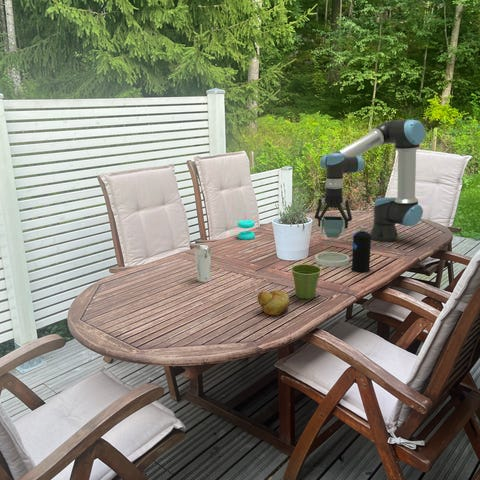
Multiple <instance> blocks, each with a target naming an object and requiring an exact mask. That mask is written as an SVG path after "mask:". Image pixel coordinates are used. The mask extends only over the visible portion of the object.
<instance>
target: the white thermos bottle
mask: <svg viewBox="0 0 480 480" xmlns="http://www.w3.org/2000/svg"><path fill="white" fill-rule="evenodd" d="M211 260H212V253H211V246H210V245H207V244H200V245H196V246H195V247H194V262H195V266H196V270H197V276H196V277H197V278H196V281H197V282H199V283H207V282H210V281H211V280H212V278H211V271H210V269H211Z"/></svg>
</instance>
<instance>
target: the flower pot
mask: <svg viewBox="0 0 480 480" xmlns="http://www.w3.org/2000/svg"><path fill="white" fill-rule="evenodd" d="M322 219H323V231H324V234H325V236H326V238H329V239H330V238H332V239H335V238H336V239H337V238H339V237H340V235H341V234H342V232H343V222H344V219H343V217H342V215H340V216H337V215H336V216H333V215H331V216H330V215H329V216H328V215H324V216H323V217H322Z"/></svg>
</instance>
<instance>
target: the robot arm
mask: <svg viewBox="0 0 480 480" xmlns="http://www.w3.org/2000/svg"><path fill="white" fill-rule="evenodd" d="M425 137H426V129H425V126H424V125H423V123H422V121H419V120H417V119H392V120H388V121H385V122H382V123H381V124H379V125H377V126H374V127H373V128H372V129H370V130H369V132H368V133H367V134H365V135H363V136H361V137H360V138H358V139H356V140H355V141H353V142H351V143H349V144H347V145H346V146H344V147H341V148H340V149H339V150H337V151H335V152H330V153H328V154H324V155H322V157H320V161H319V162H320V166H321V168H322V169H324V170H326V179H325V180H326V181H325V187H326V188H325V197H323V198H322V197H320V198H319V199H318V206H317V208H316V211H315V214H314V219H316V220H317V222H318V223H317V224H318V225H317V226H318V227H319V235H321V234H323V232H324V226H323V216H325V214H326V212H327V211H328V210H329V208H334V209H336V208H337V210H338V211H339V213H340V216H341V217H342V219H343V220H344V221H343V227H342V236H343V237H344V236H346V230H347V229H348V227H349V222H351V221H352V220H353V216H352V213H351V209H350V208H351V207H350V199H349V198H348V199H344V198H343V192H344V191H343V186H344V174H352V173H353V174H354V173H358V172H361V171H363V170H364V167H365V161H364V159H363V157H361V155H364V154H365V153H366V152H368V151H370V150H371V149H373V148H375V147H381V146H382V145H385V144H394V149H395V150H396V151H397V197H392V196H391V197H380V198H376V199H375V202H374V206H373V207H374V208H373V209H374V210H373V224H372V227H371V231H369V234H370V235H371V236H372V238H371V241H376V242H381V243H382V242H383V243H390V242H396V241H397V240H398V238H399V235H398V231H397V227H396V224H398V225H401V226H406V227H414V226H416V225H418V224H419V222H420V221H421V220H422V217H423V214H424V213H423V212H424V208H423V207H422V206H421V205H420V204H419V199H418V198H417V197H416V167H417V150H419V148H420V145H421V144H422V143H423V142H424V139H425ZM324 202H325V204H326V205H325V207H324V209H323V210H322V206H323V203H324ZM342 204H344V205H345V210H344V209H343V206H342ZM321 210H322V212H321ZM345 211H346V213H345ZM320 212H321V213H320ZM346 214H347V215H346Z"/></svg>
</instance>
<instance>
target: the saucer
mask: <svg viewBox="0 0 480 480" xmlns="http://www.w3.org/2000/svg"><path fill="white" fill-rule="evenodd" d="M350 260H351V259H350V256H349V255H347V254H346V253H342V252H337V251H322V252H319V253H316V254H315V255H314V262H315V263H316V264H317V265H319V266H323V267H330V268H331V267H332V268H337V267H344V266H347V265H349V264H350Z"/></svg>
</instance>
